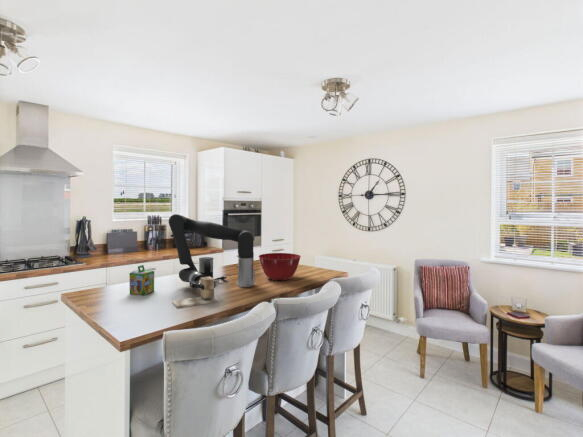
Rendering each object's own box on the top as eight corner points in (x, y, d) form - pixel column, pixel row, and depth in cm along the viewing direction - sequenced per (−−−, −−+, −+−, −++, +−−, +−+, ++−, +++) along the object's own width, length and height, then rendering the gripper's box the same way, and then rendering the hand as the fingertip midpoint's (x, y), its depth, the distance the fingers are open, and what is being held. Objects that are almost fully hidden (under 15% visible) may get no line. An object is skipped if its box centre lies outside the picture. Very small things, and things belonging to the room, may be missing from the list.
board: (211, 296, 163) (211, 294, 163) (217, 301, 156) (218, 299, 156) (172, 303, 151) (172, 300, 151) (177, 308, 144) (177, 306, 144)
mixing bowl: (249, 277, 209) (250, 254, 208) (281, 271, 228) (282, 251, 227) (276, 286, 188) (277, 261, 187) (308, 279, 207) (309, 256, 207)
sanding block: (209, 295, 161) (209, 276, 160) (213, 298, 156) (214, 278, 156) (200, 296, 158) (200, 277, 157) (204, 299, 153) (204, 280, 153)
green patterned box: (143, 295, 162) (144, 267, 162) (128, 294, 164) (128, 266, 163) (155, 291, 171) (155, 264, 171) (140, 289, 173) (140, 263, 172)
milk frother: (196, 280, 196) (196, 257, 196) (218, 277, 207) (218, 255, 206) (205, 285, 186) (206, 261, 185) (229, 281, 196) (229, 258, 195)
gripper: (184, 274, 164) (195, 281, 150) (210, 271, 172) (222, 277, 159) (184, 288, 164) (194, 296, 151) (210, 284, 173) (222, 292, 159)
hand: (209, 287), depth 155 cm, fingers closed on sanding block, 5 cm apart
